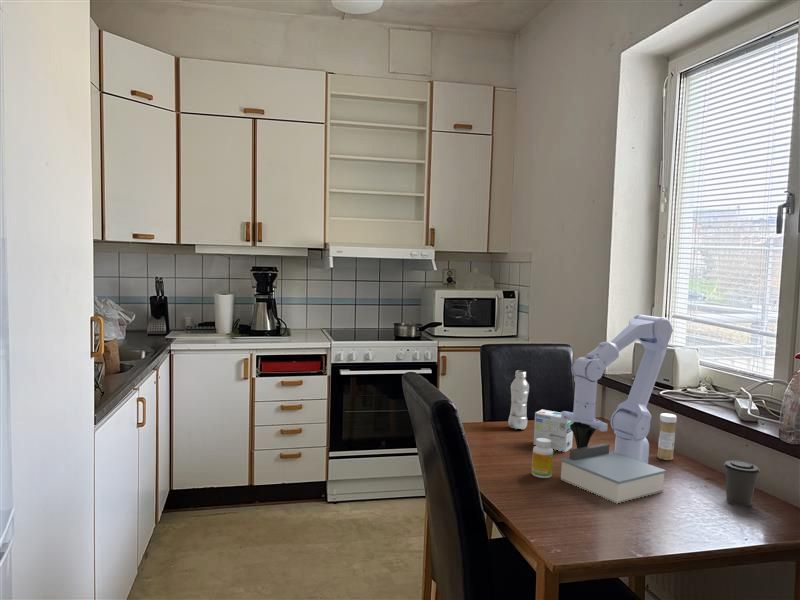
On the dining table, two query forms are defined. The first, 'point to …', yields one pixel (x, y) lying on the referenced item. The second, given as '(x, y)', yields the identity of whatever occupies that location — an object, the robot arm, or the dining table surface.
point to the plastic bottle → (519, 401)
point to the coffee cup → (740, 482)
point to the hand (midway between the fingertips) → (581, 450)
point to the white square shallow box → (612, 484)
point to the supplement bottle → (542, 458)
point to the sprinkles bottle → (666, 436)
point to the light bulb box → (553, 429)
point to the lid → (610, 464)
